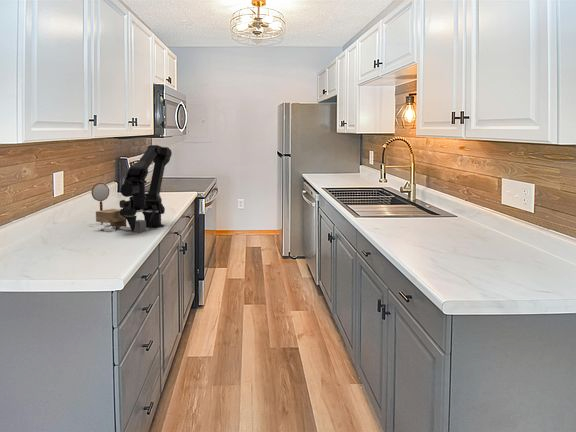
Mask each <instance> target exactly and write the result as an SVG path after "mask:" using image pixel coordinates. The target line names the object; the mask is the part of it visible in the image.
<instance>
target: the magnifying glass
mask: <svg viewBox="0 0 576 432" xmlns="http://www.w3.org/2000/svg"><path fill="white" fill-rule="evenodd" d="M91 196H92V198H93V199H94V200H95V201H98V202H99V211H102V210H103V202H104V201H105V200H107V199H108V197H109V196H110V188H109V187H108V185H107V184H105V183H103V182H98V183H96V184H95V185H93V186H92V188H91ZM100 224H101V225H104V222H100Z"/></svg>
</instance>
